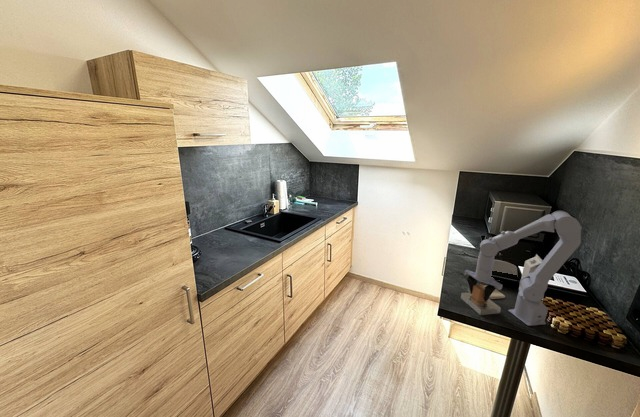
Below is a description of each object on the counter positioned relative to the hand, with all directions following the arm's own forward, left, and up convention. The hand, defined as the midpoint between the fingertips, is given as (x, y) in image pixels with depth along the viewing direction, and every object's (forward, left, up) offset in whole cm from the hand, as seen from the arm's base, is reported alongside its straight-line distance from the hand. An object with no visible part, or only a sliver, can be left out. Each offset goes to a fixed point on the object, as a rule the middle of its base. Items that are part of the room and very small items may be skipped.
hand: (479, 296), depth 113 cm
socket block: (-1, 0, -4) cm, 4 cm away
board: (+7, -11, -4) cm, 13 cm away
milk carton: (+3, -29, -4) cm, 29 cm away
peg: (0, 0, -3) cm, 3 cm away
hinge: (+20, -27, -4) cm, 34 cm away
